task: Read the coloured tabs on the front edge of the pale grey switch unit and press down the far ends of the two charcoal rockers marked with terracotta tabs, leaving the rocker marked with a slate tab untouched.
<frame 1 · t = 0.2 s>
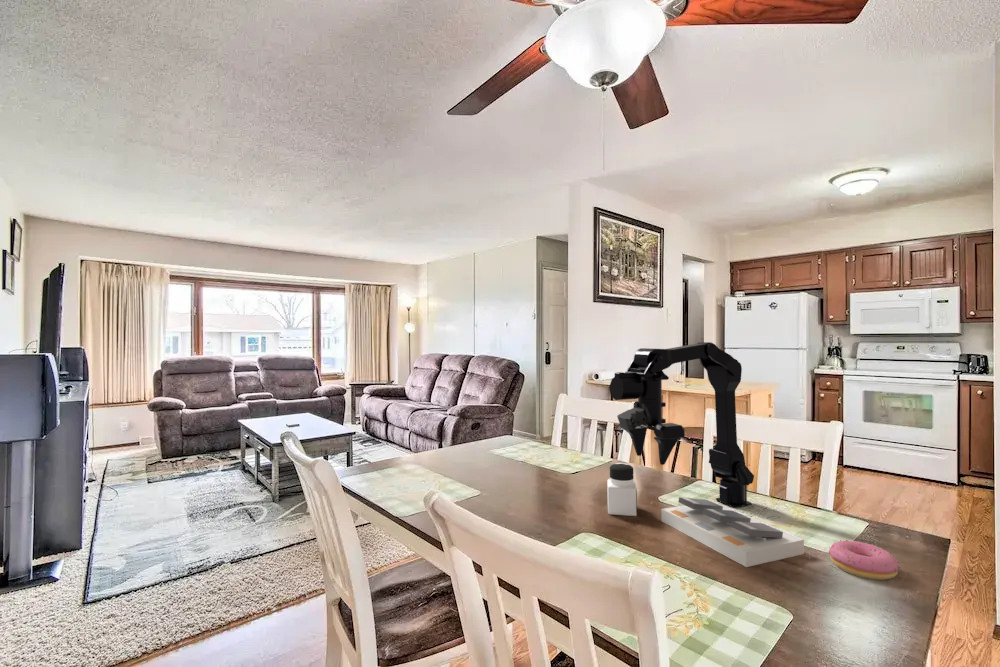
hand: (650, 459, 119), 15 cm above the table, tool pointing down, fingers open, 9 cm apart
rocker 1: (700, 504, 115), point 5 cm above the table, hinge at -11.0°
rocker 2: (756, 529, 100), point 5 cm above the table, hinge at -11.0°
rocker middle: (726, 515, 107), point 5 cm above the table, hinge at -11.0°
medicine bottle: (621, 511, 123), on the table
switch unit: (726, 536, 107), on the table
doughnut: (863, 570, 92), on the table
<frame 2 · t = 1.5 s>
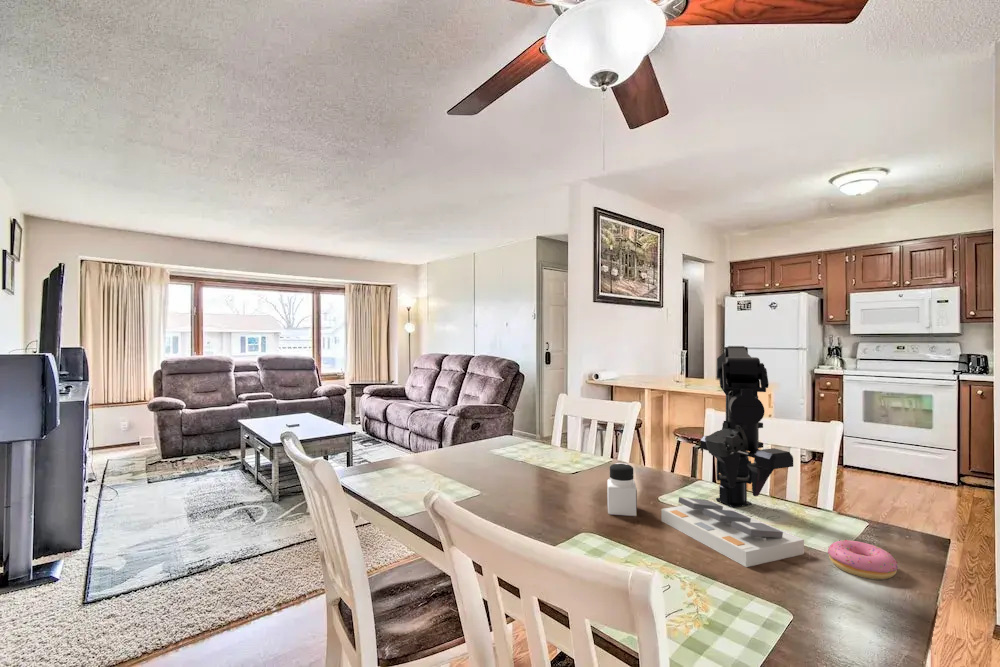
hand: (743, 491, 99), 13 cm above the table, tool pointing down, fingers open, 6 cm apart
nothing on the table moved.
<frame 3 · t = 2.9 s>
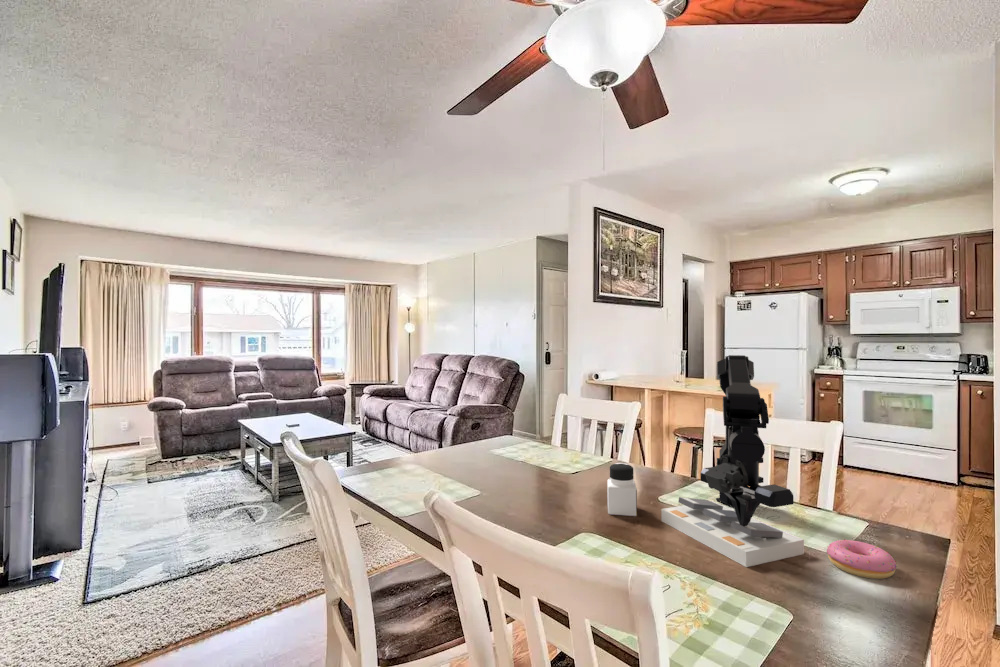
hand: (743, 526, 99), 6 cm above the table, tool pointing down, fingers closed, pressing on rocker 2
rocker 2: (756, 529, 100), point 5 cm above the table, hinge at -10.6°, touching gripper
everything else where it was.
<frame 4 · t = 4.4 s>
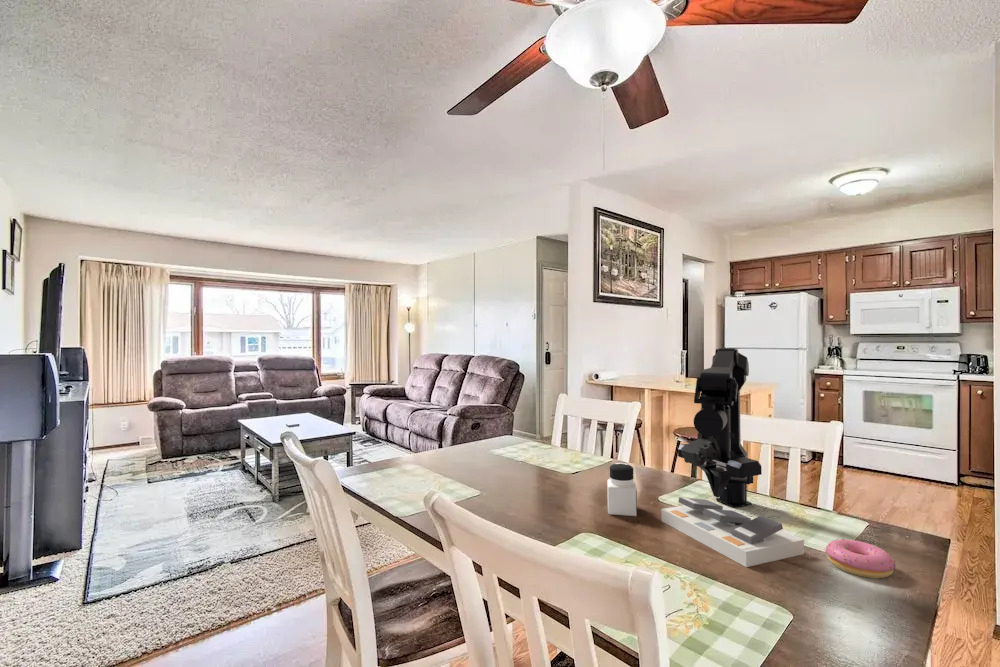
hand: (717, 496, 106), 9 cm above the table, tool pointing down, fingers closed
rocker 2: (756, 529, 100), point 5 cm above the table, hinge at 12.1°
everything else where it was.
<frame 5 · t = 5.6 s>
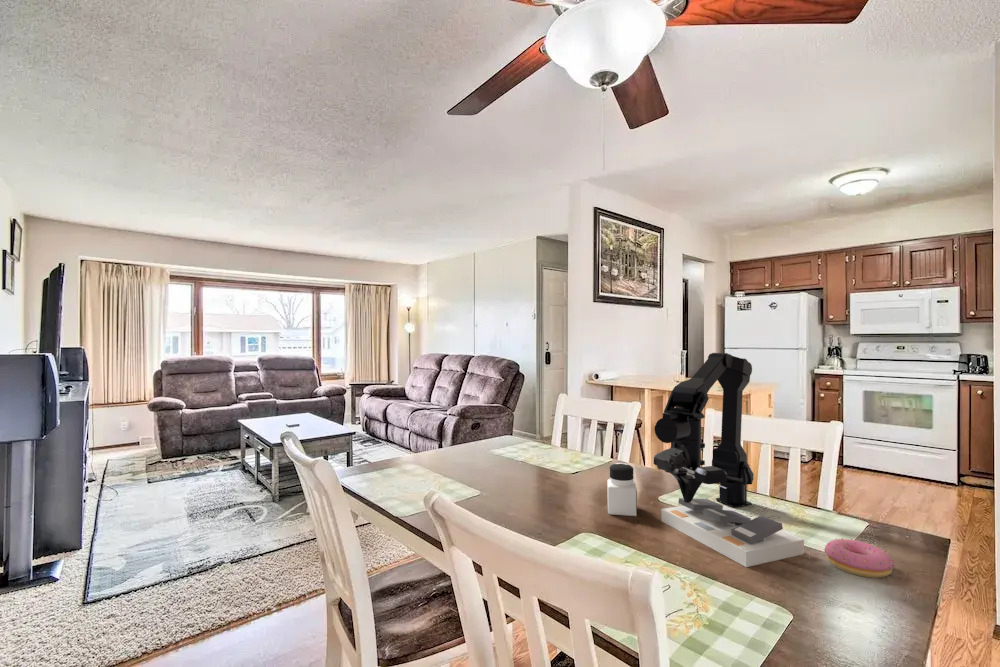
hand: (687, 502, 113), 5 cm above the table, tool pointing down, fingers closed, pressing on rocker 1
rocker 1: (700, 504, 115), point 5 cm above the table, hinge at -7.9°, touching gripper
everything else where it was.
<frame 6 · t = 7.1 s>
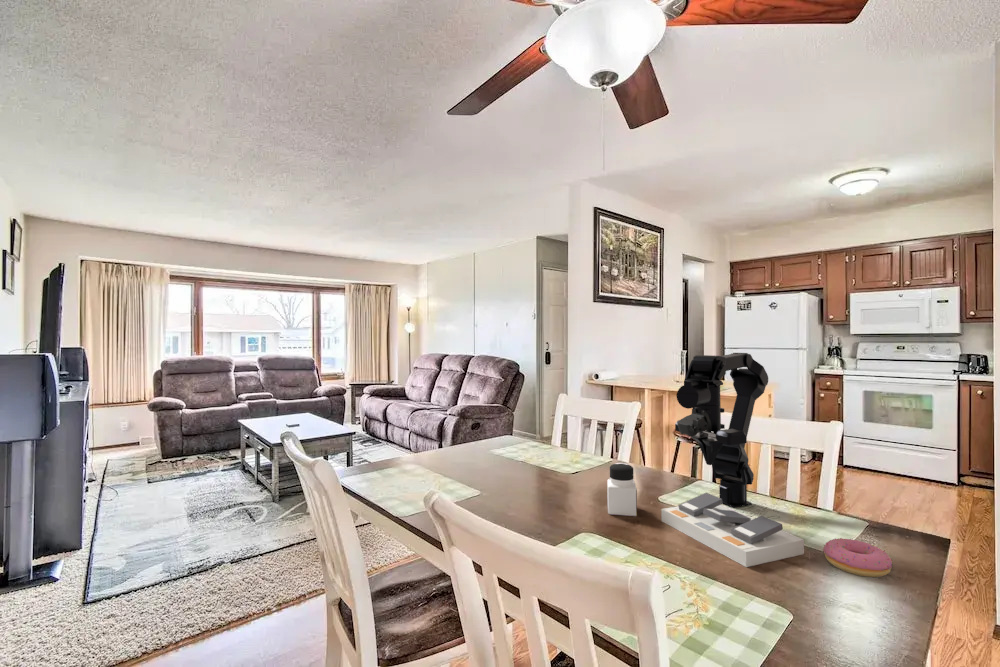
hand: (709, 464, 121), 13 cm above the table, tool pointing down, fingers closed
rocker 1: (700, 504, 115), point 5 cm above the table, hinge at 13.3°, touching switch unit
rocker 2: (756, 529, 100), point 5 cm above the table, hinge at 11.1°
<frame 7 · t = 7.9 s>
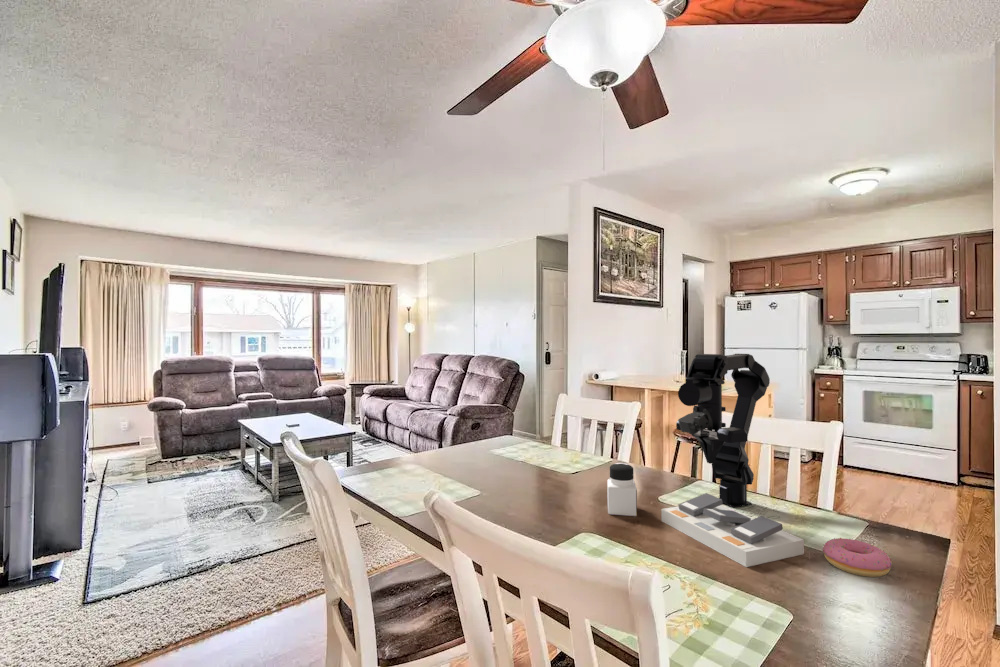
hand: (709, 463, 121), 13 cm above the table, tool pointing down, fingers closed
rocker 1: (700, 504, 115), point 5 cm above the table, hinge at 11.4°
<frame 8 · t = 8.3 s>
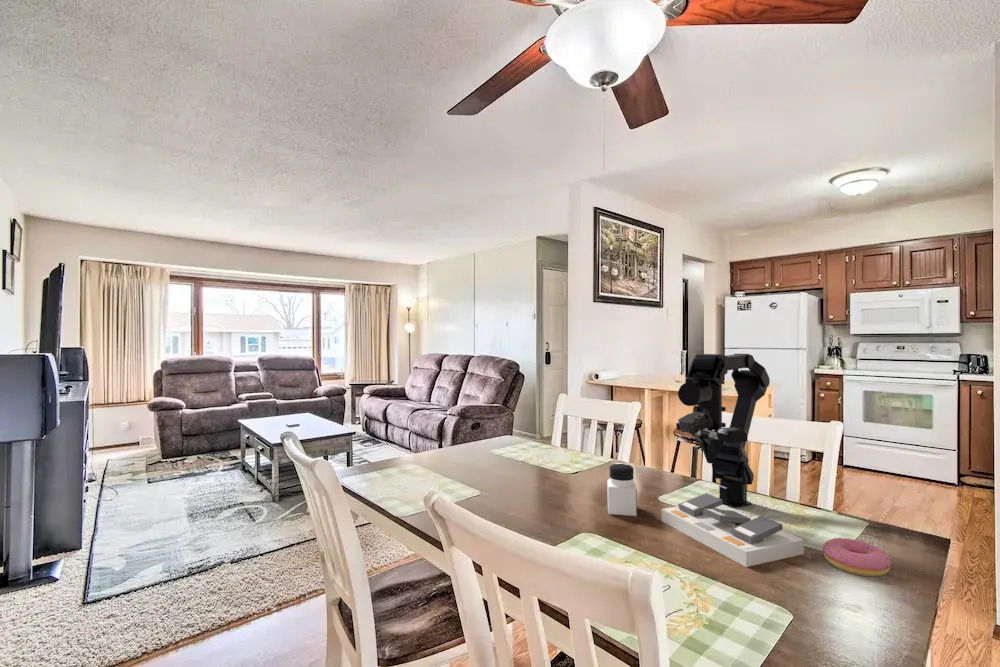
hand: (709, 463, 121), 13 cm above the table, tool pointing down, fingers closed
rocker 1: (700, 504, 115), point 5 cm above the table, hinge at 10.8°
at the end: rocker 2 at +11° (first picture: -11°); rocker 1 at +11° (first picture: -11°); rocker middle at -11° (first picture: -11°) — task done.
